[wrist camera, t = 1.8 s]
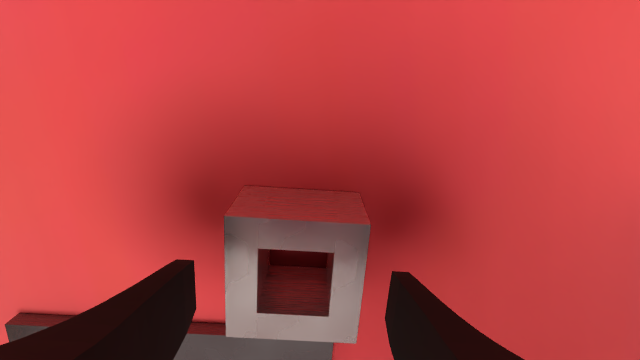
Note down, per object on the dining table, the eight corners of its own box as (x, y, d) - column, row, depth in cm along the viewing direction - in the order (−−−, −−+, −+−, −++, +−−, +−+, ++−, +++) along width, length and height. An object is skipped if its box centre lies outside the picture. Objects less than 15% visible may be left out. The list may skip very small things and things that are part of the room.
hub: (359, 192, 15) (370, 224, 12) (348, 290, 17) (356, 343, 13) (244, 185, 15) (224, 215, 12) (244, 284, 17) (225, 336, 13)
